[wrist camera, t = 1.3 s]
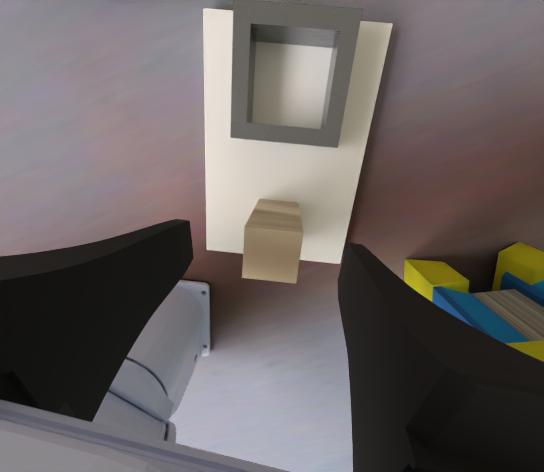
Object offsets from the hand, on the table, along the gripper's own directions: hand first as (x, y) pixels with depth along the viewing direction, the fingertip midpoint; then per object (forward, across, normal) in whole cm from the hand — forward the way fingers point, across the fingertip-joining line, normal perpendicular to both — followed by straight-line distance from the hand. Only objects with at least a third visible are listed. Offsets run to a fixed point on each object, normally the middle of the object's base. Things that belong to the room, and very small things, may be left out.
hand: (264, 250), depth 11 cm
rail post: (+9, +1, +2) cm, 9 cm away
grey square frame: (+11, +1, -7) cm, 13 cm away
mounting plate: (+10, +1, -2) cm, 11 cm away
